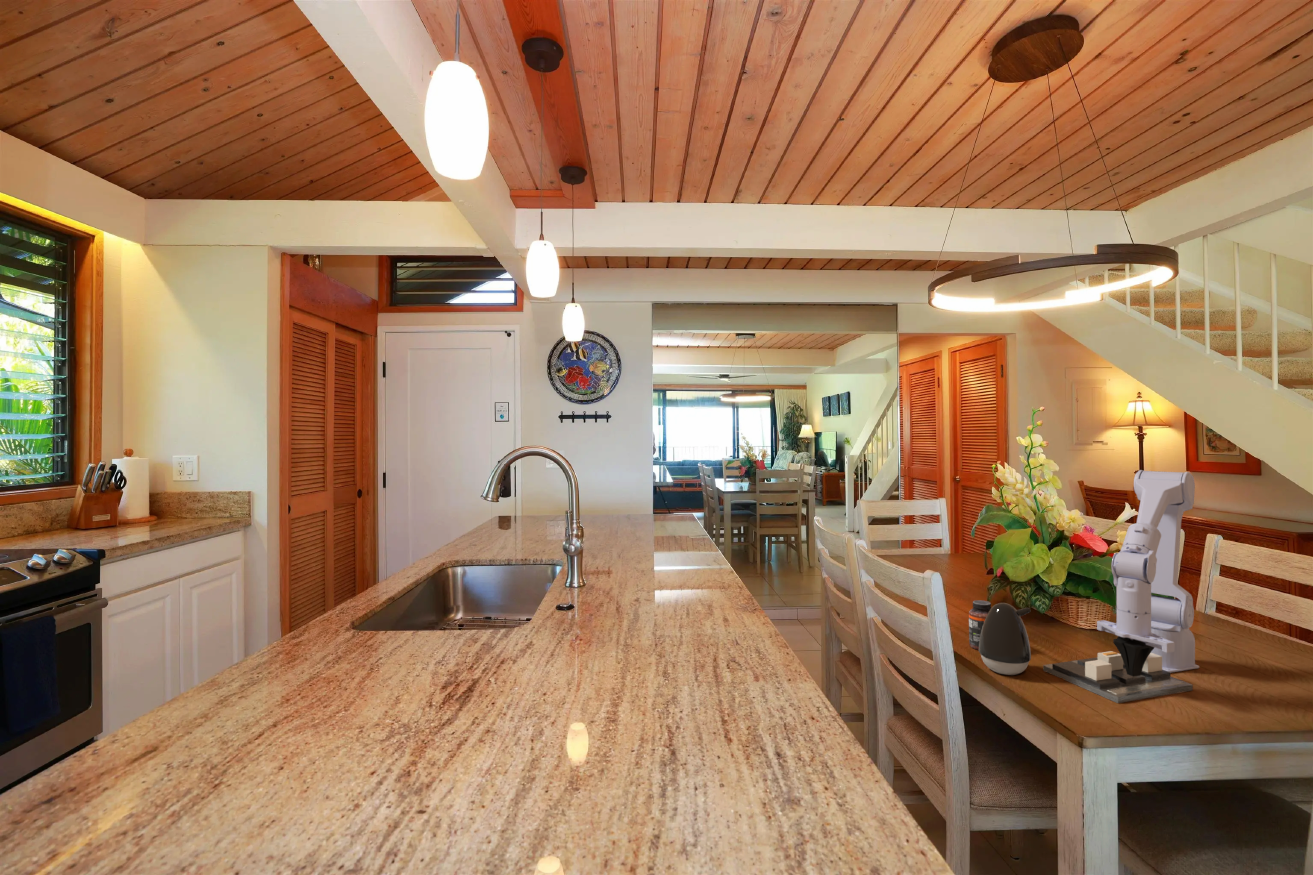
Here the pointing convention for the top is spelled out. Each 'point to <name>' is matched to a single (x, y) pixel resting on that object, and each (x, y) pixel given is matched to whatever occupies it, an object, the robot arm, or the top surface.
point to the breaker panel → (1119, 682)
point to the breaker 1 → (1098, 670)
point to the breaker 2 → (1153, 663)
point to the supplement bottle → (977, 621)
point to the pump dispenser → (1005, 640)
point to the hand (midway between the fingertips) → (1133, 674)
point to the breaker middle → (1112, 659)
